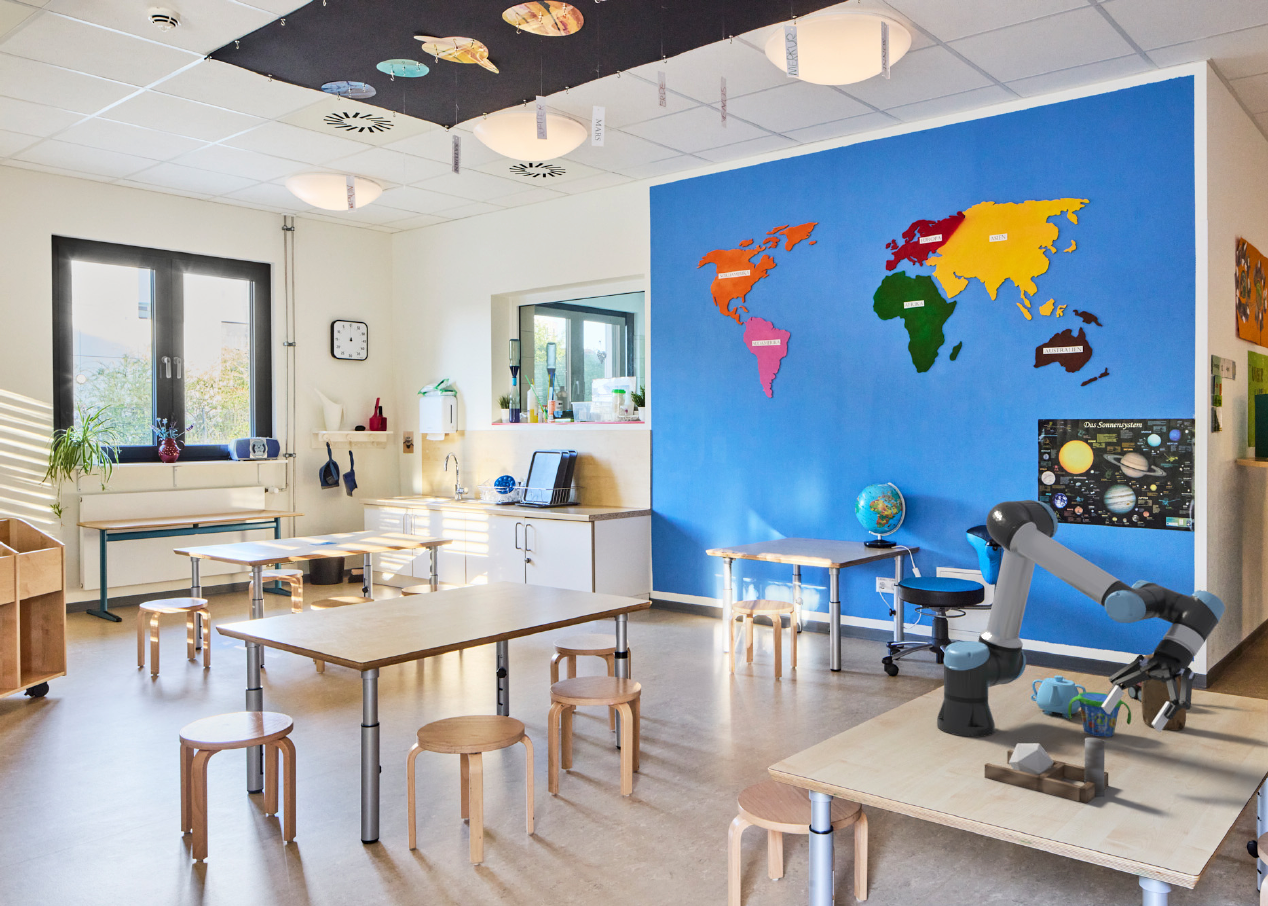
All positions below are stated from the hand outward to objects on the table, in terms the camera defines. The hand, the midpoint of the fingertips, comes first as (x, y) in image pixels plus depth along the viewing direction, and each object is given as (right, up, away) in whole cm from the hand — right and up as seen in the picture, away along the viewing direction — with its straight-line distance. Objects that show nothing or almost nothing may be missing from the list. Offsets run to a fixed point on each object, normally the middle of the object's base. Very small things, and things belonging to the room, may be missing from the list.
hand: (1129, 719), depth 214 cm
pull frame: (-18, -15, +3) cm, 24 cm away
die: (-21, -16, +5) cm, 27 cm away
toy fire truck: (+48, -16, +73) cm, 89 cm away
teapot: (+11, -16, +60) cm, 63 cm away
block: (+35, -16, +48) cm, 61 cm away
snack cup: (+13, -16, +41) cm, 46 cm away
